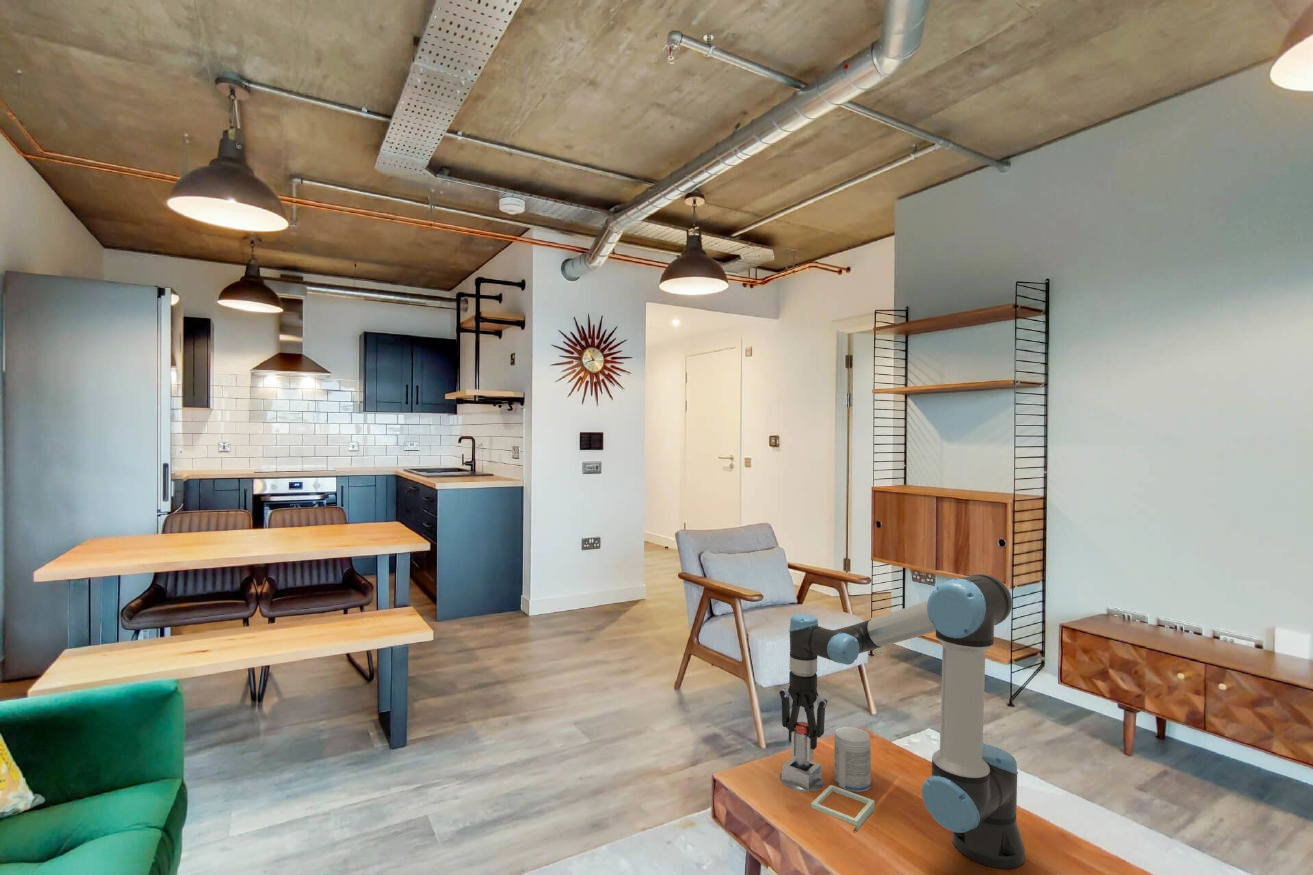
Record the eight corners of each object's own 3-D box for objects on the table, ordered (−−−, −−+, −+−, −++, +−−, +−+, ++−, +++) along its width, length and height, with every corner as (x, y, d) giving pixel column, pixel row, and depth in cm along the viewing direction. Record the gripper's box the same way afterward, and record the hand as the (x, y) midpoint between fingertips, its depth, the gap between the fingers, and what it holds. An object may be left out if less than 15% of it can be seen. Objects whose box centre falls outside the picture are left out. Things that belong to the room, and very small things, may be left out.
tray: (874, 810, 166) (874, 800, 166) (856, 831, 156) (856, 821, 156) (830, 793, 173) (830, 784, 173) (810, 813, 164) (811, 803, 164)
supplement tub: (876, 788, 176) (877, 734, 176) (859, 801, 170) (860, 745, 170) (844, 774, 183) (845, 722, 183) (827, 786, 177) (828, 732, 177)
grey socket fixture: (831, 783, 178) (831, 763, 178) (812, 802, 169) (812, 781, 169) (791, 769, 186) (791, 750, 186) (771, 786, 176) (771, 766, 176)
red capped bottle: (812, 775, 177) (812, 724, 178) (805, 780, 174) (806, 729, 174) (798, 770, 180) (799, 720, 180) (792, 776, 177) (792, 724, 177)
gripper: (838, 675, 175) (837, 761, 175) (781, 661, 186) (781, 743, 185) (826, 682, 169) (825, 772, 169) (769, 668, 180) (768, 752, 180)
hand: (802, 756), depth 177 cm, fingers closed on red capped bottle, 4 cm apart
